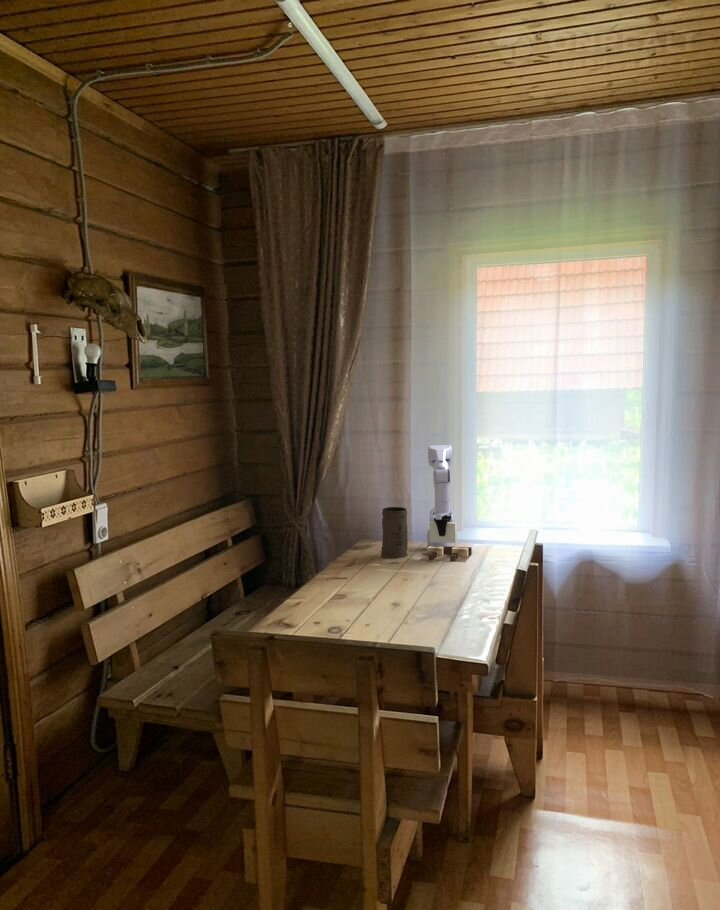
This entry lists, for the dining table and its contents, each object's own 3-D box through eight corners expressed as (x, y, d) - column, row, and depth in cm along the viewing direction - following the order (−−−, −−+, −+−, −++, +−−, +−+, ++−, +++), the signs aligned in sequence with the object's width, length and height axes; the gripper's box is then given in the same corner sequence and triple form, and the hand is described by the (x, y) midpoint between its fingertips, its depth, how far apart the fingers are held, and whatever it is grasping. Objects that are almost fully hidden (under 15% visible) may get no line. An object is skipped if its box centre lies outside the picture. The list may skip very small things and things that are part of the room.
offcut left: (427, 555, 277) (427, 547, 277) (429, 553, 280) (428, 546, 280) (442, 555, 275) (441, 548, 275) (443, 554, 278) (443, 546, 278)
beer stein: (414, 558, 277) (413, 508, 275) (392, 562, 271) (391, 511, 269) (391, 552, 289) (389, 504, 288) (370, 556, 283) (368, 507, 282)
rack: (418, 562, 269) (418, 552, 269) (427, 554, 282) (427, 545, 282) (465, 564, 263) (464, 554, 263) (471, 556, 276) (471, 547, 276)
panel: (430, 542, 269) (429, 522, 269) (431, 540, 272) (431, 521, 271) (455, 542, 266) (455, 523, 265) (456, 541, 268) (456, 522, 268)
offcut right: (451, 556, 274) (451, 548, 274) (453, 554, 277) (453, 547, 277) (467, 556, 272) (466, 549, 272) (468, 555, 275) (468, 547, 275)
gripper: (448, 503, 260) (449, 539, 260) (456, 498, 273) (457, 532, 274) (430, 502, 262) (430, 538, 263) (438, 497, 276) (439, 531, 276)
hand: (443, 535), depth 269 cm, fingers closed on panel, 3 cm apart
